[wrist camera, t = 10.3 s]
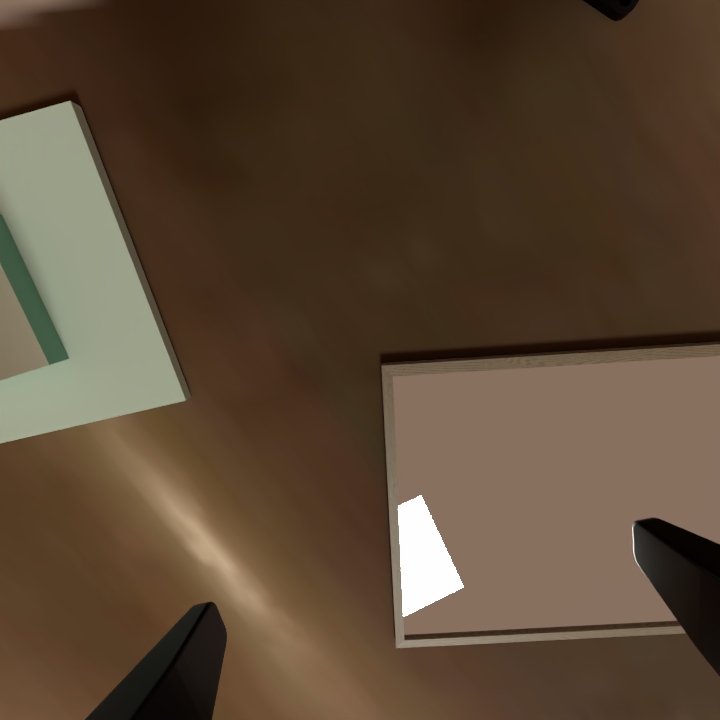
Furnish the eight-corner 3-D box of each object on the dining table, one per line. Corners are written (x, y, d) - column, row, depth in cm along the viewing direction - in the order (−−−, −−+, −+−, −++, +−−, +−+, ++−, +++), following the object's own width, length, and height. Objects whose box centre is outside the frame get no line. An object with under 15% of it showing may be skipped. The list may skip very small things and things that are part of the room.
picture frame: (905, 327, 19) (380, 360, 19) (936, 330, 18) (381, 365, 18) (813, 610, 24) (394, 632, 24) (832, 625, 23) (396, 648, 23)
